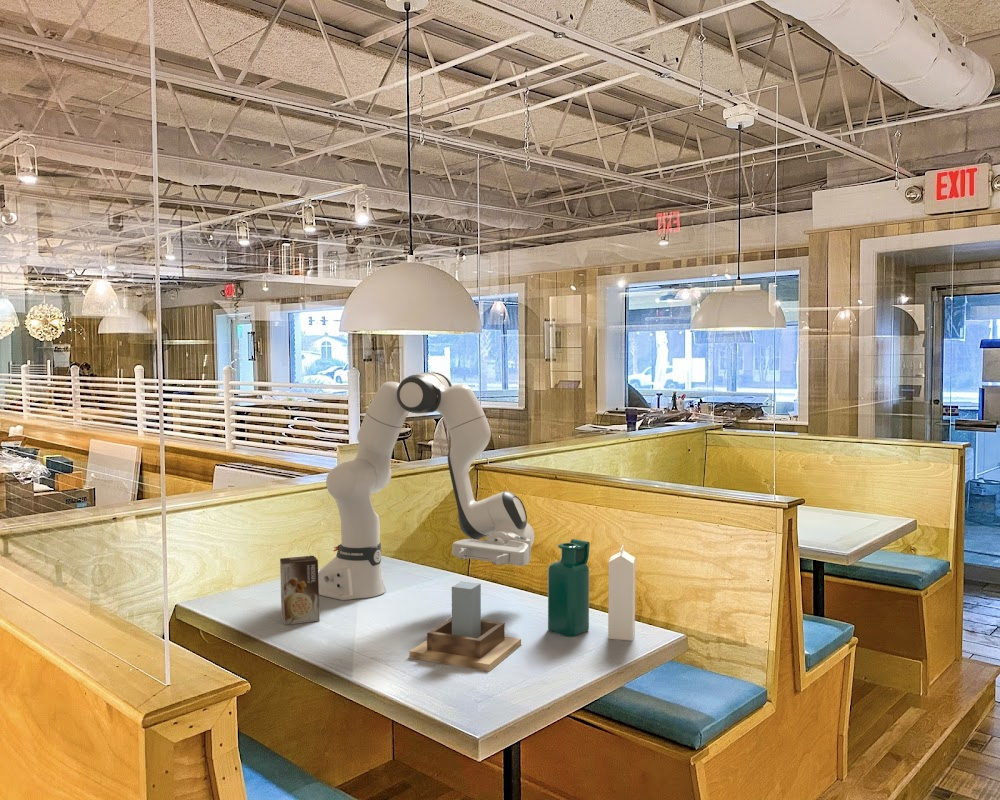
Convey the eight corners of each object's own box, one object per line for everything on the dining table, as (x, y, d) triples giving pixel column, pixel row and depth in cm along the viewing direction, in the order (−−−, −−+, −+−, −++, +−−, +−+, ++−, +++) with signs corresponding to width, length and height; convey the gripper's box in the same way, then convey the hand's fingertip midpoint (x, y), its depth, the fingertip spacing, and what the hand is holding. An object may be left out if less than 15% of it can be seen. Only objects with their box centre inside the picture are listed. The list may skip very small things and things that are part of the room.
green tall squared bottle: (571, 638, 195) (571, 548, 194) (544, 630, 201) (544, 543, 200) (595, 628, 202) (595, 542, 202) (568, 621, 208) (568, 537, 207)
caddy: (409, 657, 183) (409, 633, 182) (446, 633, 199) (446, 611, 199) (489, 671, 175) (489, 646, 174) (521, 644, 191) (521, 622, 191)
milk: (608, 639, 195) (607, 549, 194) (610, 631, 201) (610, 543, 200) (633, 641, 194) (633, 550, 193) (635, 632, 200) (635, 544, 199)
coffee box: (316, 614, 215) (315, 554, 214) (320, 621, 209) (319, 560, 208) (280, 618, 211) (279, 557, 211) (283, 625, 205) (282, 563, 205)
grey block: (451, 646, 185) (451, 586, 185) (461, 639, 190) (461, 581, 189) (471, 649, 183) (471, 589, 183) (480, 642, 188) (480, 583, 187)
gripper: (465, 530, 218) (441, 540, 205) (536, 539, 209) (515, 551, 197) (465, 553, 218) (440, 565, 205) (535, 563, 210) (514, 576, 197)
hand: (477, 558), depth 201 cm, fingers open, 8 cm apart
